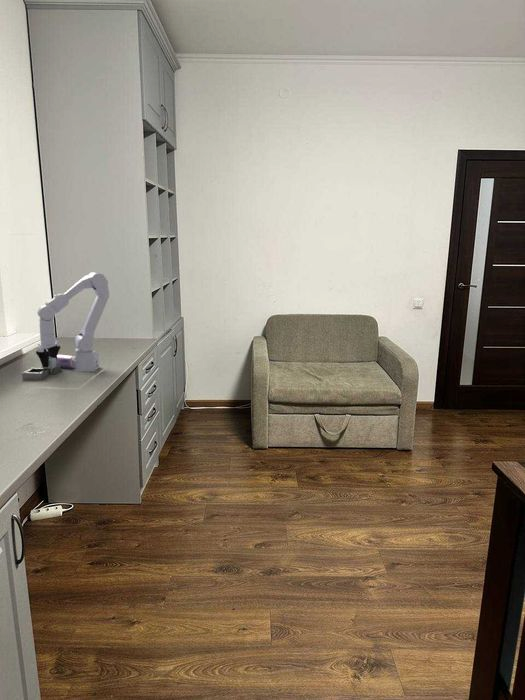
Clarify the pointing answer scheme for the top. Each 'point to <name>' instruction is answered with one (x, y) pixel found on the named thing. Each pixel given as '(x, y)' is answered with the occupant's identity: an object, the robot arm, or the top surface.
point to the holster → (55, 370)
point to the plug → (51, 364)
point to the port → (36, 374)
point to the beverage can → (66, 361)
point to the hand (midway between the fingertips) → (49, 364)
